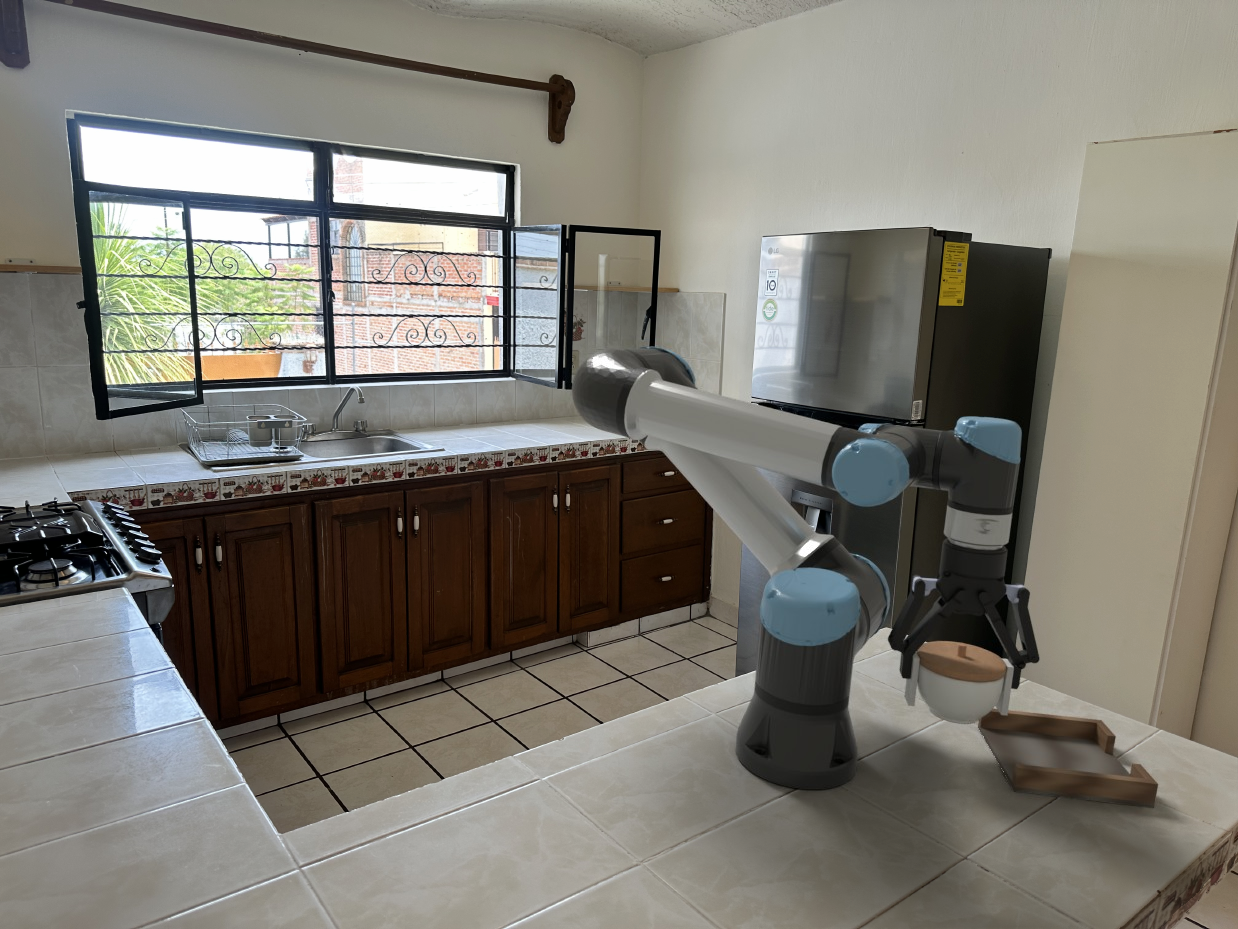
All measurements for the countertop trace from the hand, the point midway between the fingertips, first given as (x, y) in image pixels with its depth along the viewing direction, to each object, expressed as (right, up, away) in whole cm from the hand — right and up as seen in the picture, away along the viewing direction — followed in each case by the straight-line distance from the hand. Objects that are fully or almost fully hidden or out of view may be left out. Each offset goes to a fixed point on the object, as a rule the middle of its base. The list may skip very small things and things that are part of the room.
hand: (954, 706), depth 109 cm
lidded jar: (0, -1, 0) cm, 1 cm away
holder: (+13, -8, 0) cm, 15 cm away
